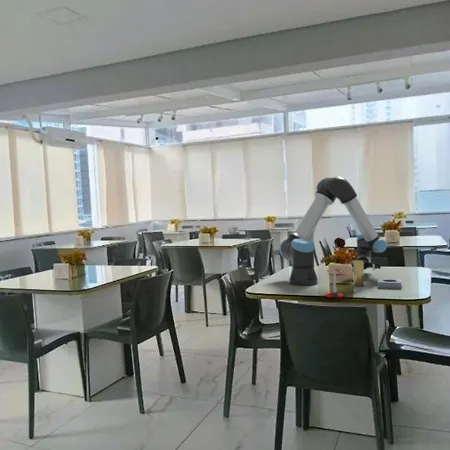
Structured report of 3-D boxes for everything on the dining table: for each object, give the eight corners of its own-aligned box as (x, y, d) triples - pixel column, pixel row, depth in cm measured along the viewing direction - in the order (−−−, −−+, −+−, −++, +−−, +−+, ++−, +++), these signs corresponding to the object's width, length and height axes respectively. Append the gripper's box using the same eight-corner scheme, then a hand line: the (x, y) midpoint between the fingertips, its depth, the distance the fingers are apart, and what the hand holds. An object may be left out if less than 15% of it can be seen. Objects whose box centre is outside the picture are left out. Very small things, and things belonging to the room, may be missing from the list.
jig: (377, 288, 239) (377, 282, 239) (378, 284, 248) (378, 278, 248) (401, 288, 235) (401, 282, 235) (401, 285, 245) (401, 279, 245)
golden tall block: (353, 286, 245) (352, 261, 244) (354, 284, 249) (353, 260, 248) (363, 287, 243) (363, 261, 242) (364, 285, 248) (363, 260, 247)
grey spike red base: (324, 295, 229) (325, 298, 220) (324, 268, 229) (325, 270, 220) (342, 295, 228) (344, 298, 219) (342, 268, 228) (344, 270, 218)
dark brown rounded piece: (326, 268, 307) (325, 237, 305) (349, 268, 306) (349, 236, 305) (330, 272, 292) (329, 239, 291) (354, 271, 291) (354, 238, 290)
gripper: (385, 269, 270) (384, 275, 250) (340, 268, 279) (336, 274, 259) (385, 256, 270) (384, 261, 250) (340, 255, 278) (335, 260, 258)
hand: (360, 268), depth 254 cm, fingers open, 13 cm apart
